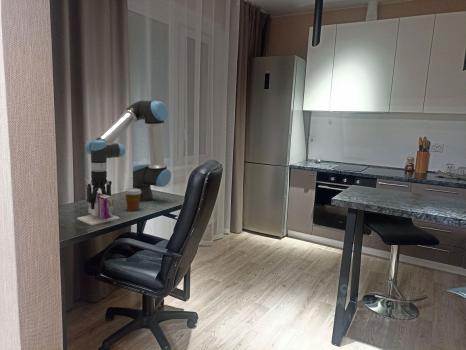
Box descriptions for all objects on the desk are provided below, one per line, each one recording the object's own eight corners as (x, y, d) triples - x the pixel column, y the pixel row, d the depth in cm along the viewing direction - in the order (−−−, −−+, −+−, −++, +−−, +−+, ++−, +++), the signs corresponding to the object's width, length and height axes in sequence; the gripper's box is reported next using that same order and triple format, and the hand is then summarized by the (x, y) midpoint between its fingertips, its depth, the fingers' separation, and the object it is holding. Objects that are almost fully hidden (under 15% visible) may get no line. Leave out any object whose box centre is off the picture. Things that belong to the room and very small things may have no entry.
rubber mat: (104, 213, 186) (104, 211, 186) (119, 218, 178) (119, 217, 178) (76, 219, 174) (76, 217, 173) (91, 225, 165) (91, 223, 165)
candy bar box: (113, 196, 169) (95, 191, 179) (104, 198, 166) (87, 192, 175) (114, 217, 171) (96, 211, 181) (105, 219, 168) (87, 212, 177)
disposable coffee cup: (123, 211, 191) (123, 191, 189) (125, 207, 200) (125, 188, 198) (140, 211, 193) (140, 191, 191) (141, 207, 202) (142, 188, 200)
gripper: (86, 173, 162) (87, 219, 165) (118, 169, 176) (118, 212, 180) (78, 171, 166) (79, 215, 170) (110, 168, 180) (110, 209, 184)
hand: (99, 213), depth 175 cm, fingers closed on candy bar box, 5 cm apart
